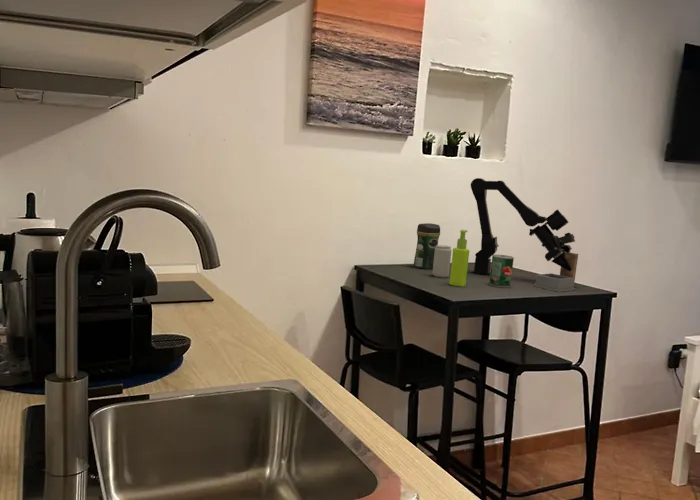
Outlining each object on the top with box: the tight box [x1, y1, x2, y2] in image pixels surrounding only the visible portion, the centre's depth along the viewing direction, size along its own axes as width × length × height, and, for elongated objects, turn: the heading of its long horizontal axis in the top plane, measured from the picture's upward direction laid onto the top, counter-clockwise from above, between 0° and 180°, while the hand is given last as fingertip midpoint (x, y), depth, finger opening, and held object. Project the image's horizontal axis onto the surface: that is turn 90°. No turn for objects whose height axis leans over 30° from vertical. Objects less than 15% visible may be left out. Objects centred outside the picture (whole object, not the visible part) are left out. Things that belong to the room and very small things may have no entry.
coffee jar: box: [413, 222, 441, 270], centre depth 266 cm, size 10×8×19 cm
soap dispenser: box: [448, 229, 470, 287], centre depth 233 cm, size 6×7×20 cm
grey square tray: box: [533, 272, 576, 293], centre depth 244 cm, size 11×11×4 cm
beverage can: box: [432, 244, 453, 278], centre depth 248 cm, size 6×6×12 cm
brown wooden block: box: [559, 252, 579, 288], centre depth 251 cm, size 5×4×13 cm
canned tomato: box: [488, 254, 515, 288], centre depth 240 cm, size 8×8×11 cm
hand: (572, 269), depth 250 cm, fingers closed on brown wooden block, 4 cm apart
